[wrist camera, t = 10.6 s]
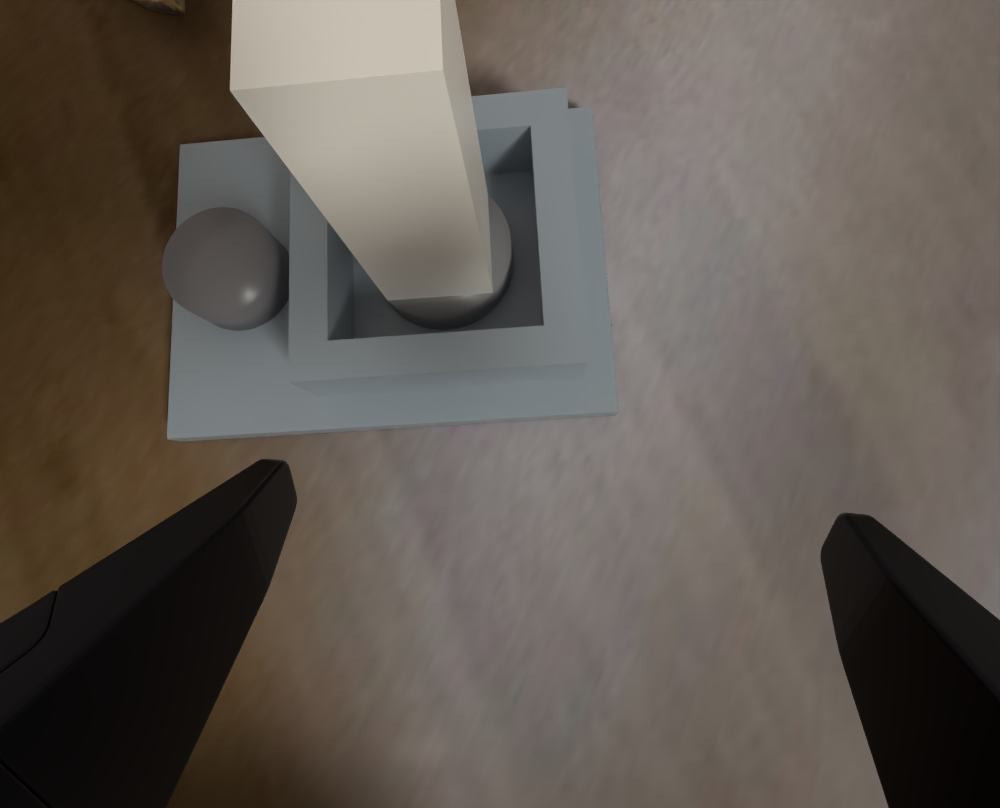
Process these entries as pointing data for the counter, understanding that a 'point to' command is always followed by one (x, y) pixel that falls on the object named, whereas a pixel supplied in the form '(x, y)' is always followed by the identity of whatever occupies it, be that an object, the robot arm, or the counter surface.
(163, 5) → the ceramic sculpture
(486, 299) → the cream square pillar
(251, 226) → the housing
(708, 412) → the counter surface
